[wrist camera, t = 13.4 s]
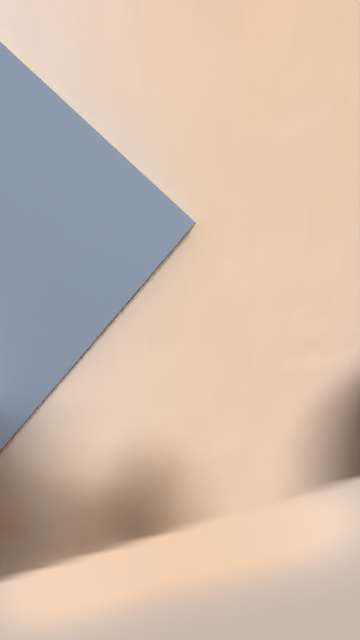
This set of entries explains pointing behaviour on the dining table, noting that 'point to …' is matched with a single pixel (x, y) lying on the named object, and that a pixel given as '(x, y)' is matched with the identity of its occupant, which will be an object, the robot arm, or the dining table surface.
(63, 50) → the dining table surface
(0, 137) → the board
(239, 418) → the dining table surface
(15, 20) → the dining table surface
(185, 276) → the dining table surface
